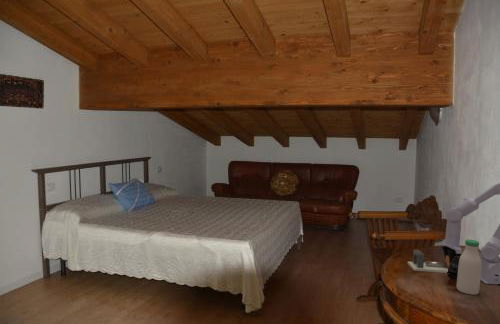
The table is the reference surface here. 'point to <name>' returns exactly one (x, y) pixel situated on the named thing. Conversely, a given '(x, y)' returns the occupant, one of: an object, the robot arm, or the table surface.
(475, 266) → the milk bottle
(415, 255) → the eye post
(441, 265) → the hook rod
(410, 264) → the board
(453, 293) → the table surface
